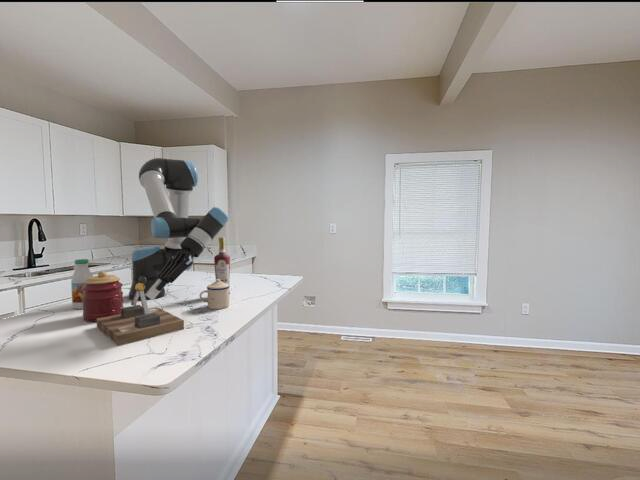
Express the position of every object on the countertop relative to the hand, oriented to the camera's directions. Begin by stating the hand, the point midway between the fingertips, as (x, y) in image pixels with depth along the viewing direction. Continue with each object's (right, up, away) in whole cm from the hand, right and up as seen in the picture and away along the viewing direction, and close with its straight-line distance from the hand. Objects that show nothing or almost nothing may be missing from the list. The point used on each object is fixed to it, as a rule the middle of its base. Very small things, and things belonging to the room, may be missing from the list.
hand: (148, 297), depth 108 cm
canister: (-26, -11, +18) cm, 33 cm away
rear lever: (-11, -5, +10) cm, 16 cm away
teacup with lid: (+11, -10, +32) cm, 35 cm away
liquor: (+9, -8, +50) cm, 52 cm away
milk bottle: (-43, -9, +30) cm, 54 cm away
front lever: (-1, -6, +1) cm, 6 cm away
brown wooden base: (-6, -12, +6) cm, 14 cm away
